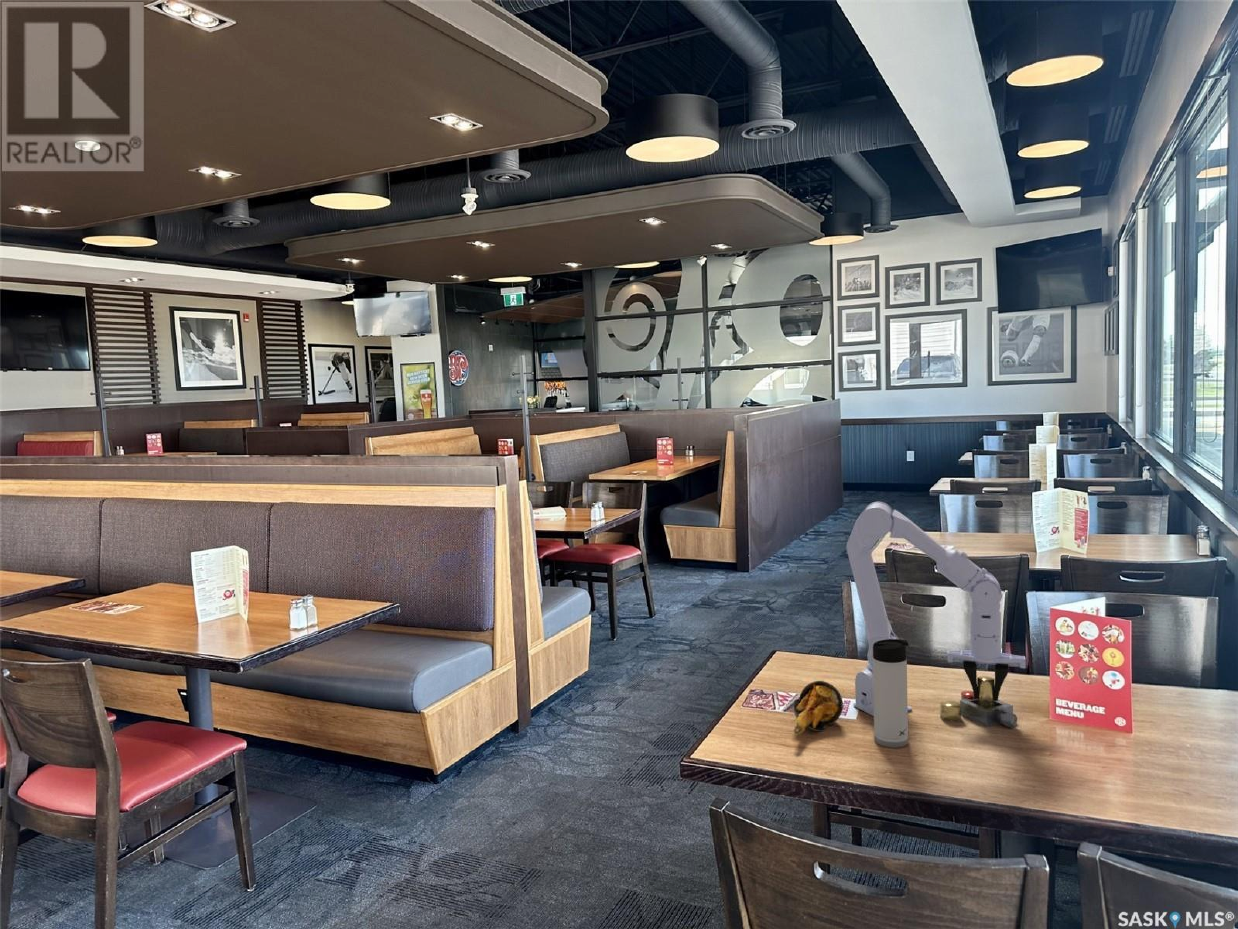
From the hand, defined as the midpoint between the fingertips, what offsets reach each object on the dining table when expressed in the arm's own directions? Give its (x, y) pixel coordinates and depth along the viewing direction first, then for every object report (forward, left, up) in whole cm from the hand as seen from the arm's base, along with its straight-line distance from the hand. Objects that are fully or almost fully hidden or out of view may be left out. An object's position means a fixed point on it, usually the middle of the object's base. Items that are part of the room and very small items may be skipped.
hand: (986, 698), depth 166 cm
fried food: (-34, +11, -4) cm, 37 cm away
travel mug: (-24, -1, -4) cm, 25 cm away
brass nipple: (0, 0, -2) cm, 2 cm away
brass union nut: (-6, +3, -4) cm, 8 cm away
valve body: (0, 0, -4) cm, 4 cm away
